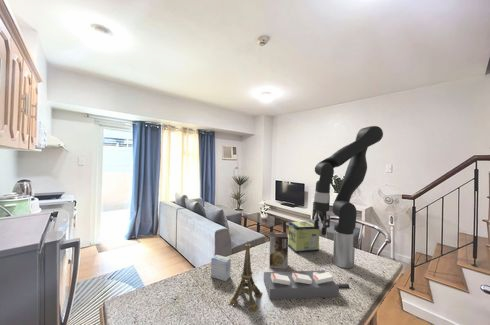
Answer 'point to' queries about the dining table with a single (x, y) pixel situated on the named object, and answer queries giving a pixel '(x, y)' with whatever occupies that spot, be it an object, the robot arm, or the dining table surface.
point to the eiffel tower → (247, 283)
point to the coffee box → (278, 250)
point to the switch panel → (300, 287)
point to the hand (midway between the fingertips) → (319, 231)
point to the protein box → (303, 237)
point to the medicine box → (220, 267)
